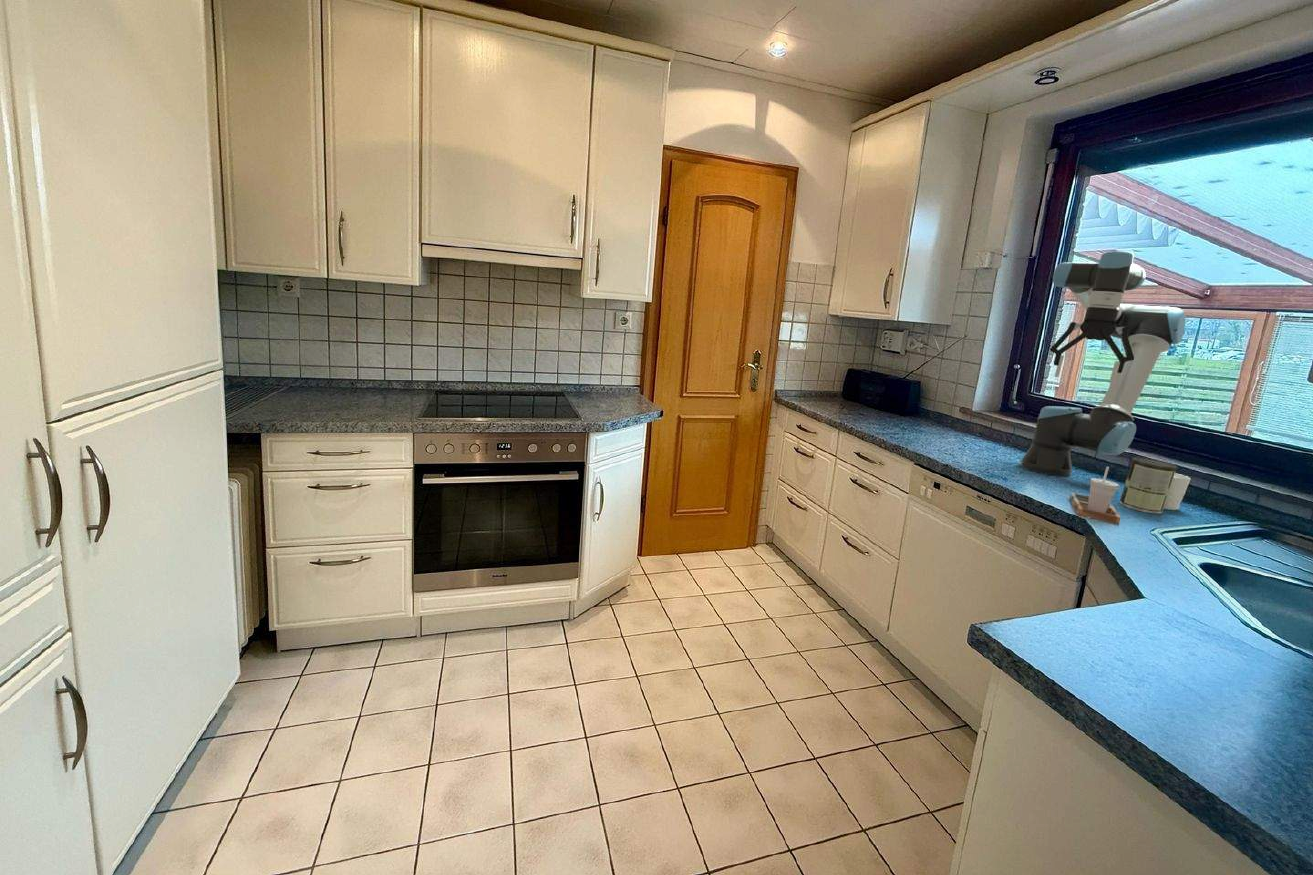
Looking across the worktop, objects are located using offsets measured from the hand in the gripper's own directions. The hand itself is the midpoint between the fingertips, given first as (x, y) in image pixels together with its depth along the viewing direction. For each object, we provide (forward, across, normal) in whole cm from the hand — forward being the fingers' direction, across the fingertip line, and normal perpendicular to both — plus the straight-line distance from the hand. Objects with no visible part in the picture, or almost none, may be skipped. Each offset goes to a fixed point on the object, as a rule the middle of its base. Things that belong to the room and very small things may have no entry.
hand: (1083, 380), depth 173 cm
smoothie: (+35, +8, -20) cm, 41 cm away
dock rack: (+35, +8, -16) cm, 39 cm away
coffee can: (+35, +22, +1) cm, 41 cm away
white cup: (+35, +29, +9) cm, 46 cm away
